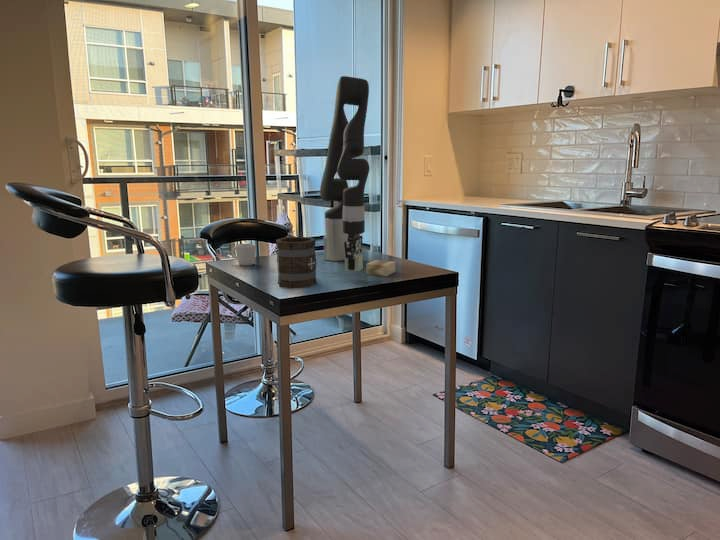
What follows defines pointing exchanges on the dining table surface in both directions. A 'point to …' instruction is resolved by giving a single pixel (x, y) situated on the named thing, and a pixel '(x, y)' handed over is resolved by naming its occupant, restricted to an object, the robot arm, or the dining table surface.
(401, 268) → the dining table surface
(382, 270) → the maple block
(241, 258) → the cup
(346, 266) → the sage cube
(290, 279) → the mug
